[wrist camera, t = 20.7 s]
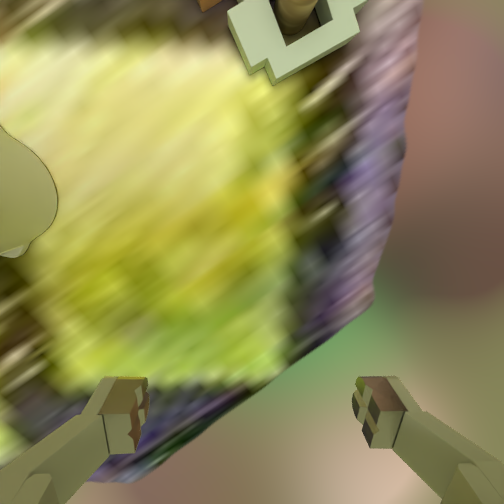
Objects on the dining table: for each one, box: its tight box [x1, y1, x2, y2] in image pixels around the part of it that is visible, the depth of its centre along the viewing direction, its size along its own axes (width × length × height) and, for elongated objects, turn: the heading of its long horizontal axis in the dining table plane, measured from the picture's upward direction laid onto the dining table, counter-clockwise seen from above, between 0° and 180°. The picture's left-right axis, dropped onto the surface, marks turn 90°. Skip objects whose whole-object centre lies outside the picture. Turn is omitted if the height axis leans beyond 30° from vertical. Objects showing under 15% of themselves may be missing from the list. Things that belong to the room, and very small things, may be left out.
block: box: [227, 0, 368, 86], centre depth 30 cm, size 10×14×4 cm
